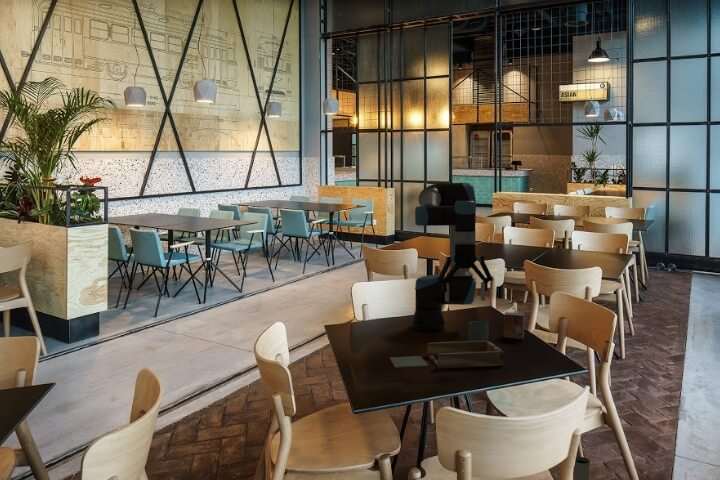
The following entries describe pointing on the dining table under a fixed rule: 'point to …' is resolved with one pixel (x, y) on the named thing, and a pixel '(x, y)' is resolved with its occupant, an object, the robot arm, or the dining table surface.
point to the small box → (514, 325)
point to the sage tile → (408, 361)
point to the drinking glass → (581, 468)
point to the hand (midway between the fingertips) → (465, 300)
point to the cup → (478, 330)
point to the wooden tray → (465, 354)
